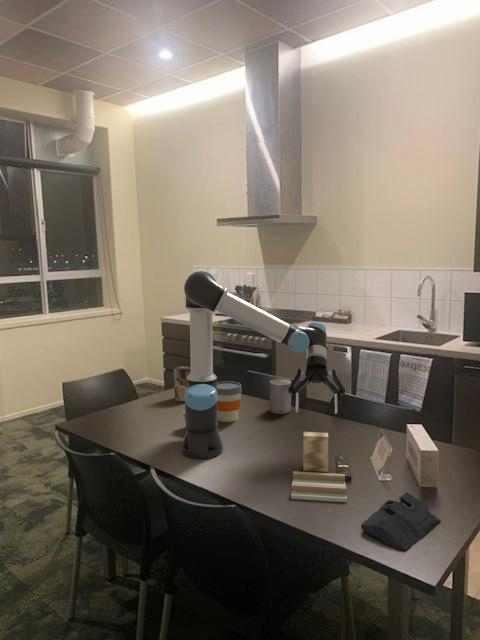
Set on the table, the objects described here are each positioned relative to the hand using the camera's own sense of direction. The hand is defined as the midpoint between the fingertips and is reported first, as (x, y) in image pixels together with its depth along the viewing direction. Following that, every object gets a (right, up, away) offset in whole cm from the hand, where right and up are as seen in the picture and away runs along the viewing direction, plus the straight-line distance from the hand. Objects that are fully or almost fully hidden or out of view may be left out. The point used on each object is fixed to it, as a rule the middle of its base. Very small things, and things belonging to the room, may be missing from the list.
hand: (316, 411), depth 171 cm
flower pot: (-45, -13, +31) cm, 56 cm away
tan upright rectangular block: (-2, -18, -8) cm, 19 cm away
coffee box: (-54, -7, +70) cm, 89 cm away
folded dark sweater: (+15, -23, -42) cm, 50 cm away
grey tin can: (-8, -9, +51) cm, 53 cm away
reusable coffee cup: (-32, -11, +42) cm, 54 cm away
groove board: (-3, -19, -22) cm, 30 cm away
